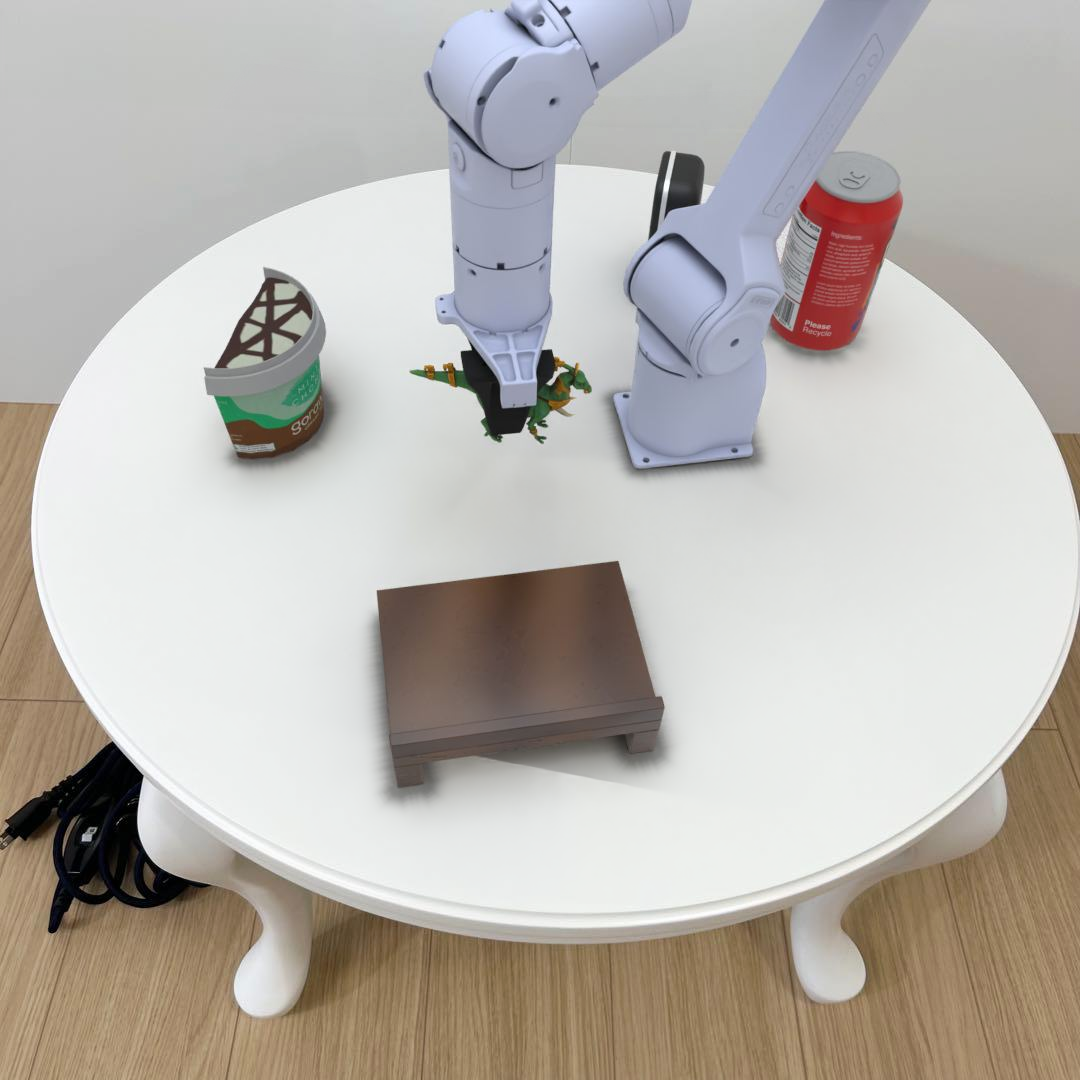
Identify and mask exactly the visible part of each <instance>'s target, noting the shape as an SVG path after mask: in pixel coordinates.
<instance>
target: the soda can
mask: <svg viewBox="0 0 1080 1080" xmlns="http://www.w3.org/2000/svg"><path fill="white" fill-rule="evenodd" d="M901 182H902V181H901V176H900V174H899V172H898V171H897V169H896V168H895V167H894V166H893V164H891V163H889V162H888V161H886V160H884V159H883V158H880V157H879V156H877V155H874V154H871V153H866V152H862V151H856V150H855V151H854V150H840V151H834V152H833V154H832V155H831V157H830V158H829V160H828V162H827V163H826V165H825V166H824V168H823V169H822V171H821V172H820V174H819V176H818V177H817V179H816V180H815V182H814V183H813V185H812V186H811V188H810V190H809V191H808V193H807V194H806V196H805V197H804V199H803V200H802V202H801V204H800V205H799V207H798V208H797V210H796V211H795V213H794V214H793V216H792V218H791V219H790V225H789V228H788V232H787V236H786V239H785V244H784V247H783V252H782V257H781V260H780V267H781V271H782V276H783V280H784V285H785V294H784V295H783V297H782V298H781V300H780V301H779V303H778V304H777V306H776V308H775V309H774V311H773V314H772V316H771V319H770V323H769V324H770V325H771V327H772V329H773V330H774V332H775V333H776V334H777V335H778V336H779V337H780V338H781V339H783V340H784V341H786V343H789V344H791V345H793V346H795V347H798V348H801V349H804V350H808V351H813V352H814V351H815V352H827V351H828V352H829V351H835V350H838V349H841V348H844V347H847V346H848V345H849V344H851V343H852V342H854V340H855V339H856V338H857V336H858V335H859V332H860V330H861V328H862V325H863V323H864V321H865V320H864V319H865V317H866V314H867V311H868V308H869V305H870V302H871V301H872V300H871V299H872V296H873V293H874V292H875V289H876V285H877V282H878V279H879V276H880V273H881V270H882V267H883V265H884V262H885V259H886V256H887V253H888V250H889V247H890V244H891V242H892V239H893V236H894V234H895V230H896V228H897V225H898V221H899V218H900V215H901V212H902V209H903V204H904V196H903V194H902V191H901V189H900V188H901V187H900V186H901Z"/></svg>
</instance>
